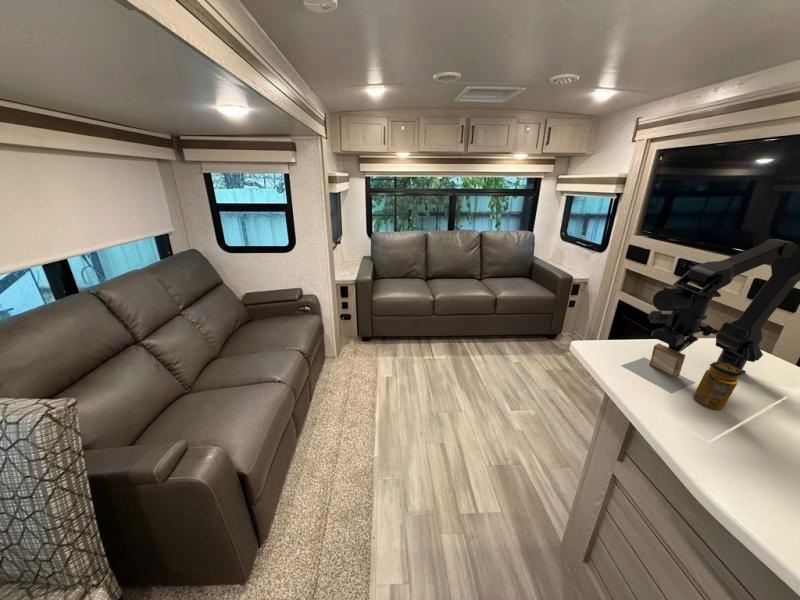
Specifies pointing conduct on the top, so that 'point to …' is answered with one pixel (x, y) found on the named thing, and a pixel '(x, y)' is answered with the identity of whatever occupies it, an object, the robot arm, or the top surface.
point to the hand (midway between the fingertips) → (671, 356)
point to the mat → (657, 375)
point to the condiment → (717, 385)
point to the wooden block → (667, 360)
